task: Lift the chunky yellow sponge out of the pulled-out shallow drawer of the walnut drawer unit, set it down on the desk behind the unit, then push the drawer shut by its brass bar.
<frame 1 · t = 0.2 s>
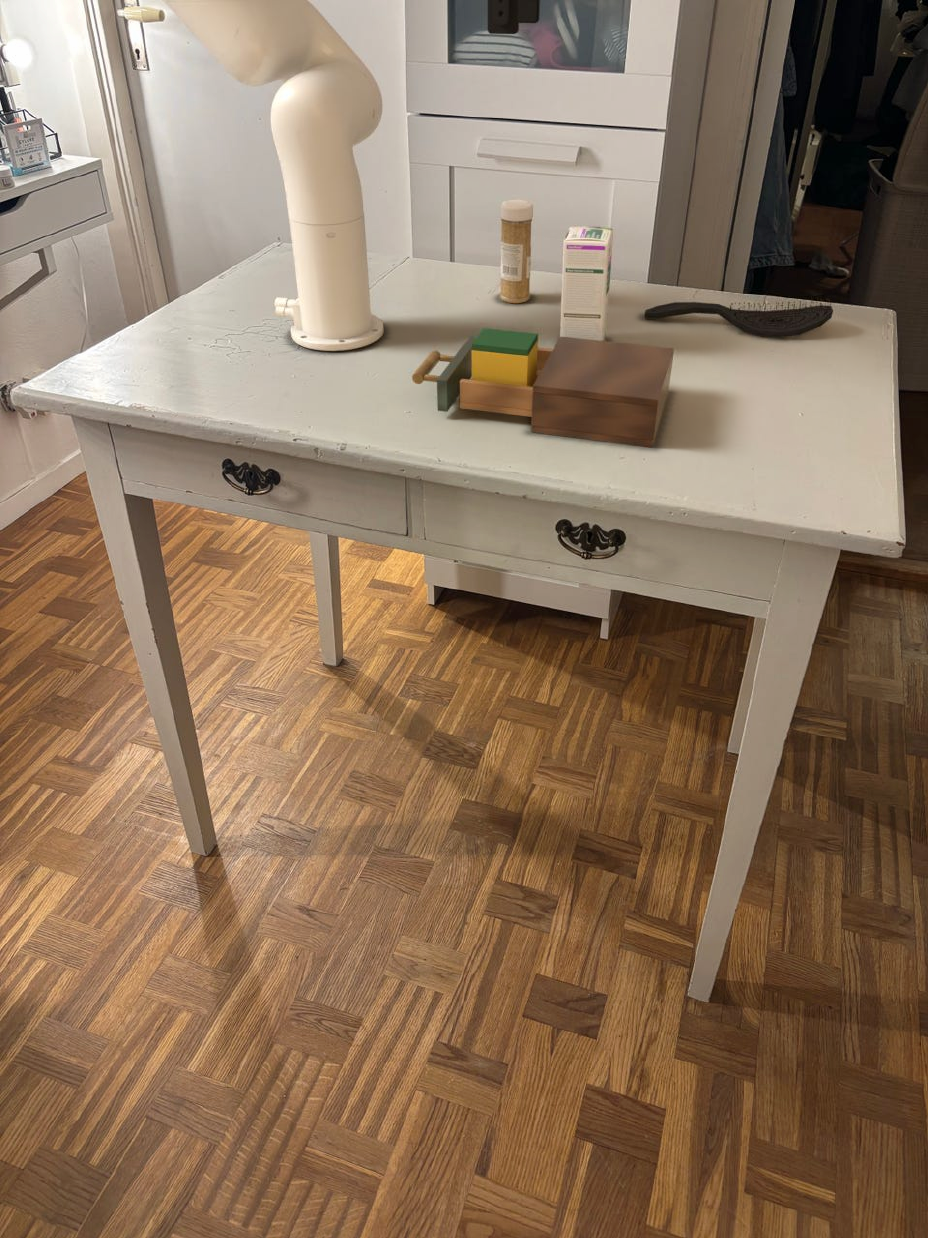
hand: (514, 27, 101), 36 cm above the table, tool pointing down, fingers open, 9 cm apart
drawer unit: (602, 411, 110), on the table
hairbrush: (734, 325, 131), on the table
sprinkles bottle: (514, 300, 140), on the table
sponge: (504, 384, 111), point 2 cm above the table, touching drawer
syrup box: (581, 346, 126), on the table
drawer: (488, 375, 111), point 3 cm above the table, slide at 10.0 cm, touching sponge
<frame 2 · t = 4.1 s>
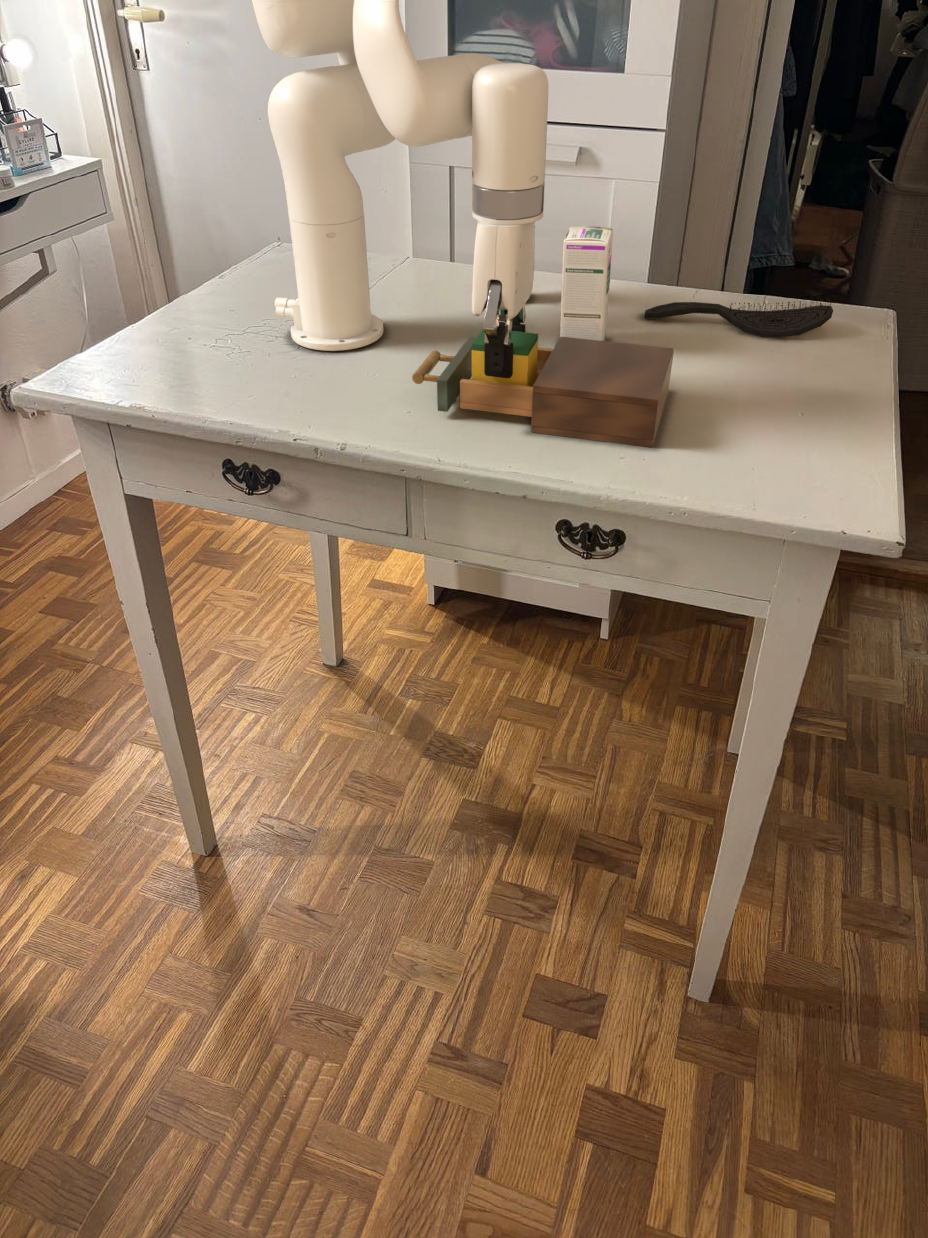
hand: (504, 364, 110), 4 cm above the table, tool pointing down, fingers closed on sponge, 5 cm apart
sponge: (504, 384, 111), point 2 cm above the table, touching drawer, gripper
everything else where it was.
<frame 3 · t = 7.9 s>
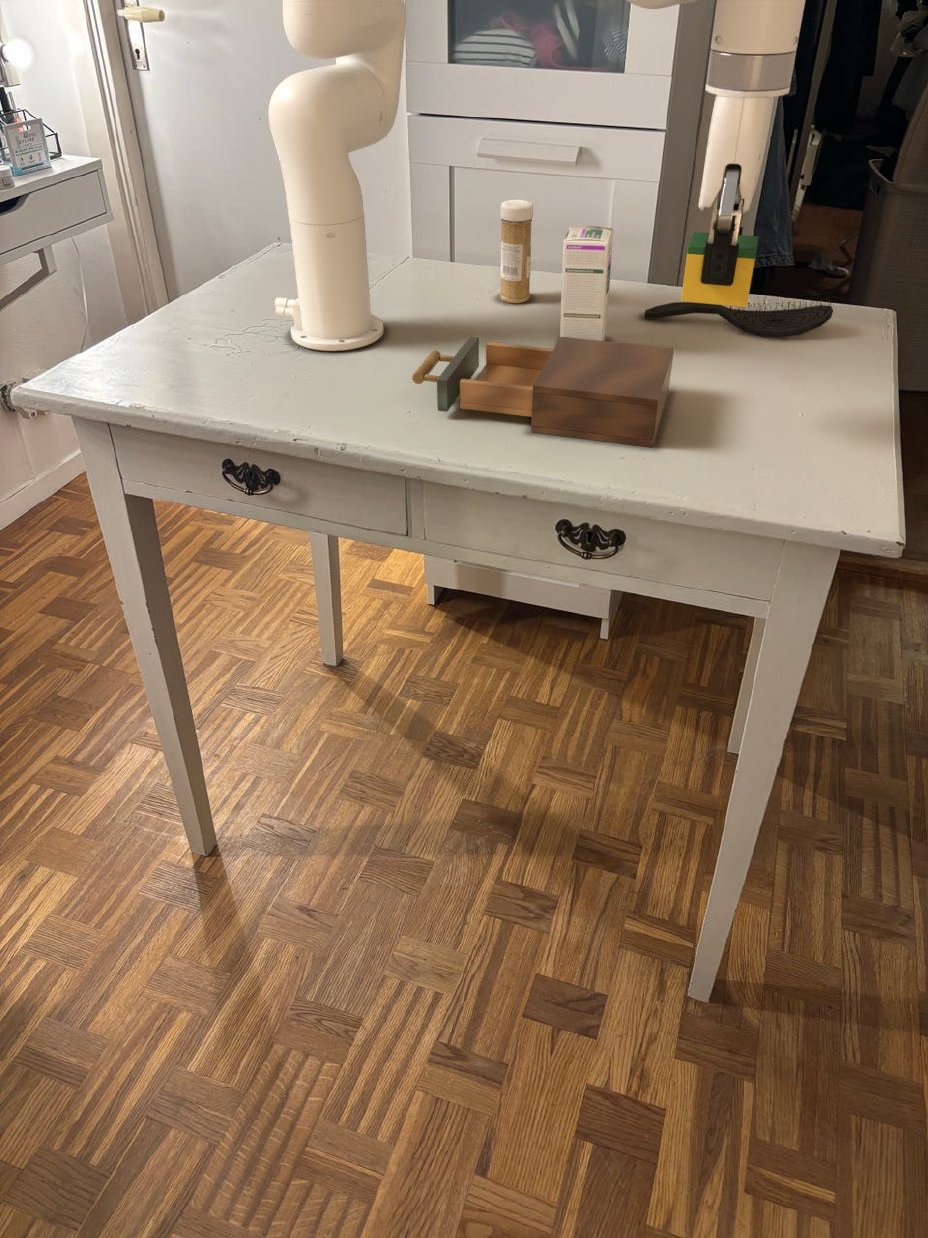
hand: (719, 272, 97), 17 cm above the table, tool pointing down, fingers closed on sponge, 5 cm apart
sponge: (715, 296, 98), point 14 cm above the table, touching gripper
drawer: (488, 375, 111), point 3 cm above the table, slide at 10.0 cm
everything else where it was.
when the fingers open (2 cm above the table, at t = 11.6 s): sponge stays where it is, on the table.
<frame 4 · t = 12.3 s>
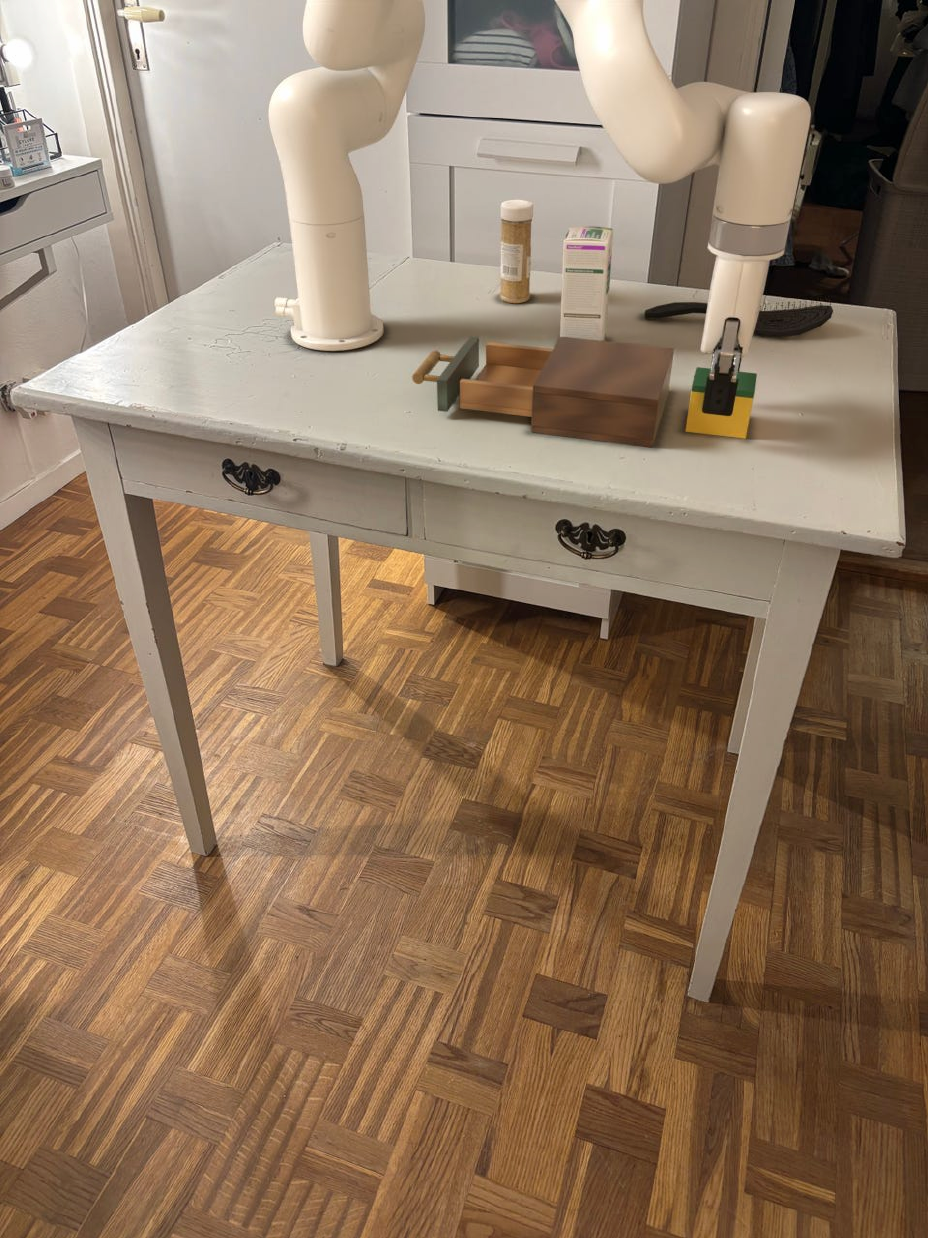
hand: (720, 394, 105), 4 cm above the table, tool pointing down, fingers open, 9 cm apart
sponge: (717, 425, 107), on the table
everything else where it was.
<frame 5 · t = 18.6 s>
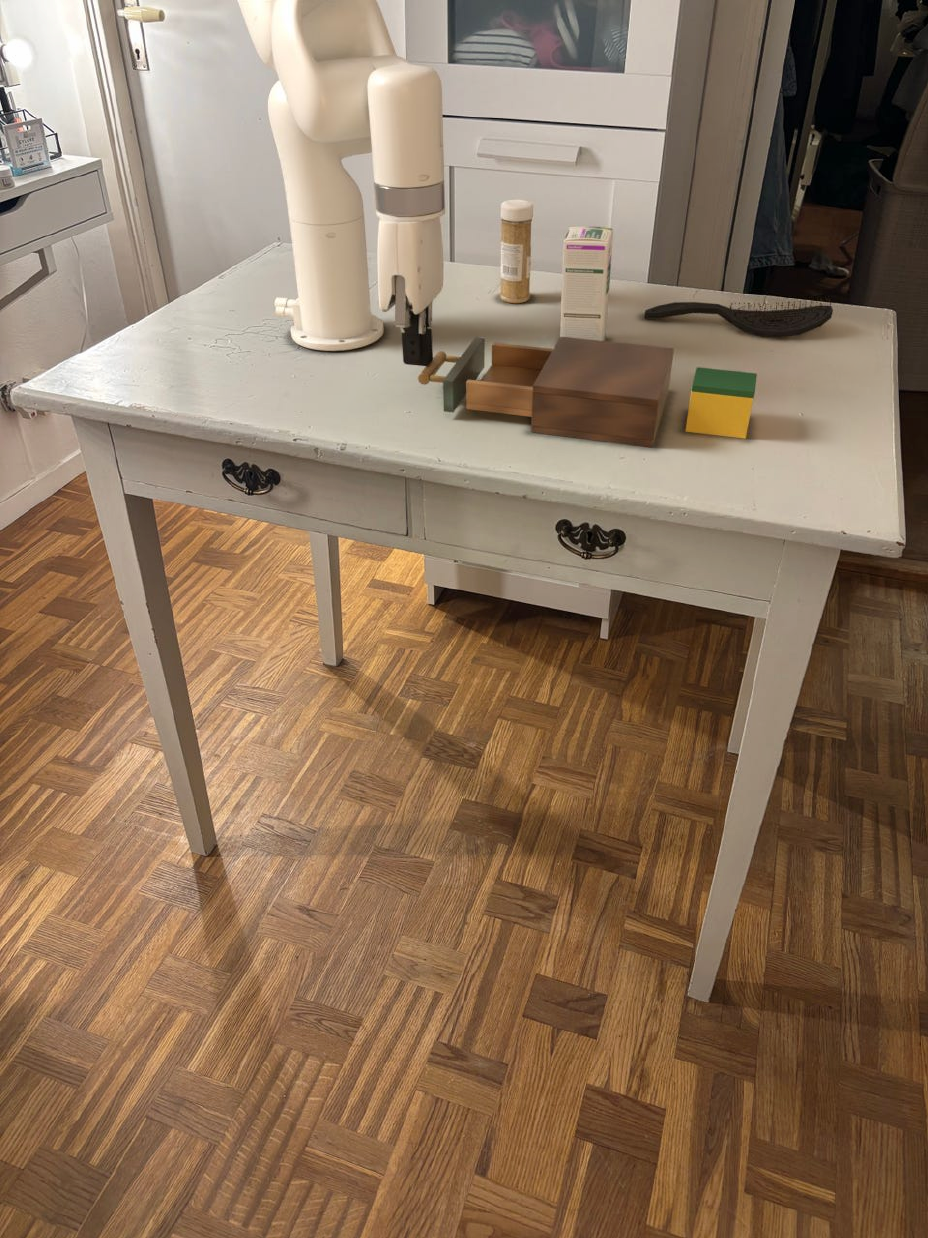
hand: (418, 362, 112), 4 cm above the table, tool pointing down, fingers closed
drawer: (494, 376, 111), point 3 cm above the table, slide at 9.3 cm, touching gripper
everything else where it was.
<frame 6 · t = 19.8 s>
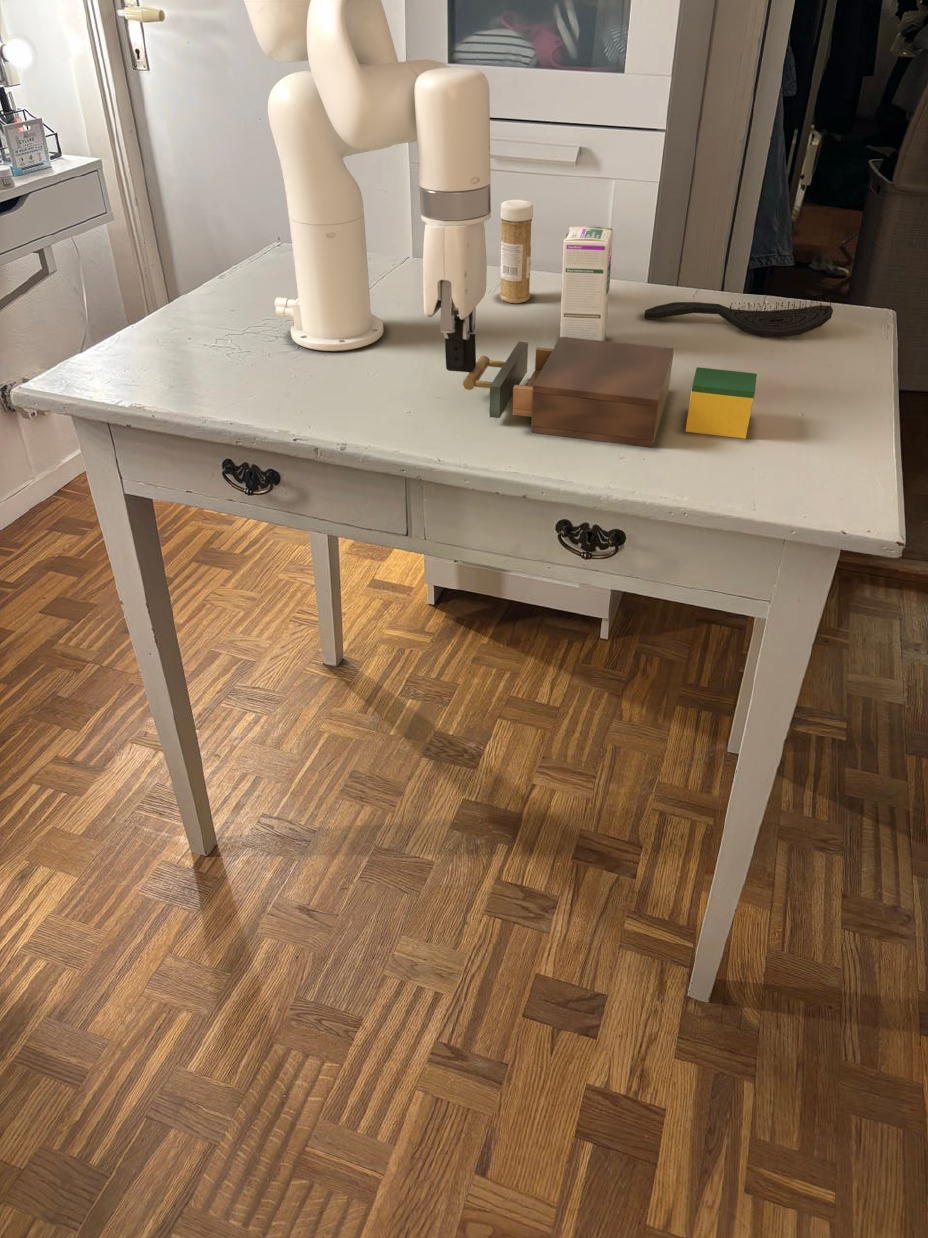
hand: (461, 368, 111), 4 cm above the table, tool pointing down, fingers closed
drawer: (539, 381, 110), point 3 cm above the table, slide at 3.8 cm, touching gripper
everything else where it was.
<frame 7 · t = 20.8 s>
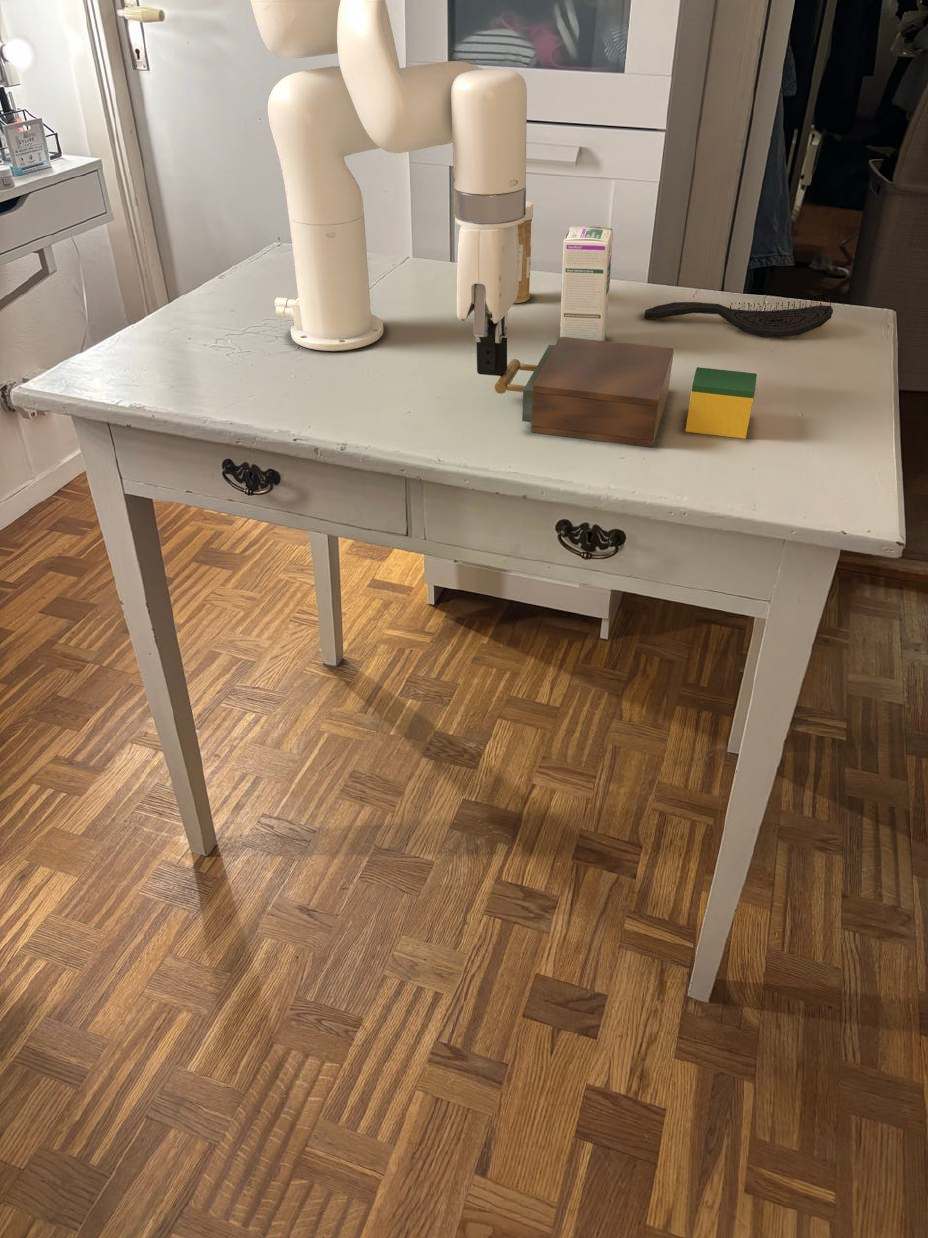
hand: (492, 371, 110), 4 cm above the table, tool pointing down, fingers closed
drawer: (571, 385, 109), point 3 cm above the table, slide at 0.0 cm, touching drawer unit, gripper
everything else where it was.
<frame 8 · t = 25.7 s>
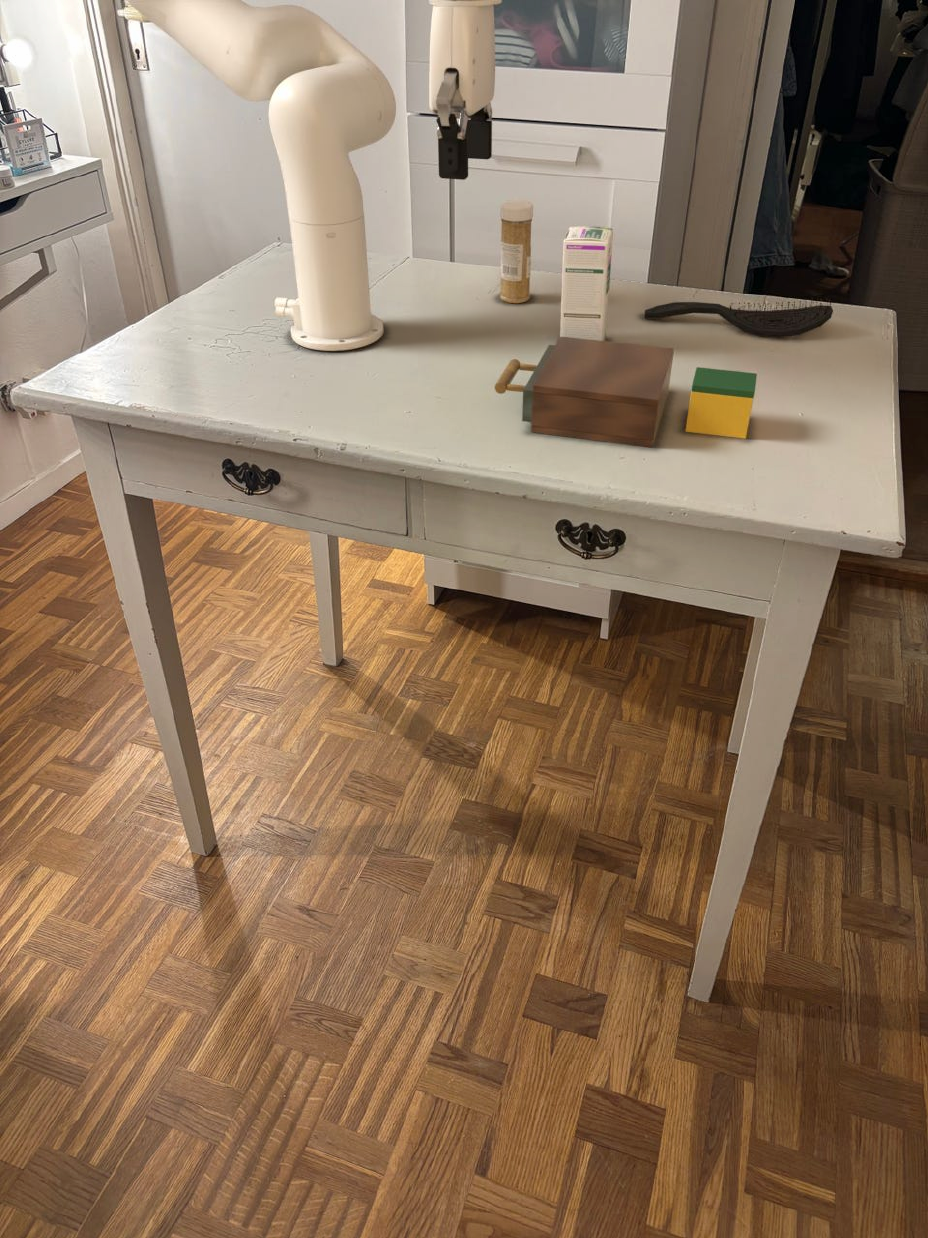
hand: (466, 167, 107), 23 cm above the table, tool pointing down, fingers open, 9 cm apart
drawer: (571, 385, 109), point 3 cm above the table, slide at 0.0 cm, touching drawer unit
everything else where it was.
at the end: sponge inside the target area (0.1 cm from its centre), on the table; sponge tilted 0°; drawer slide at 0.0 cm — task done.
